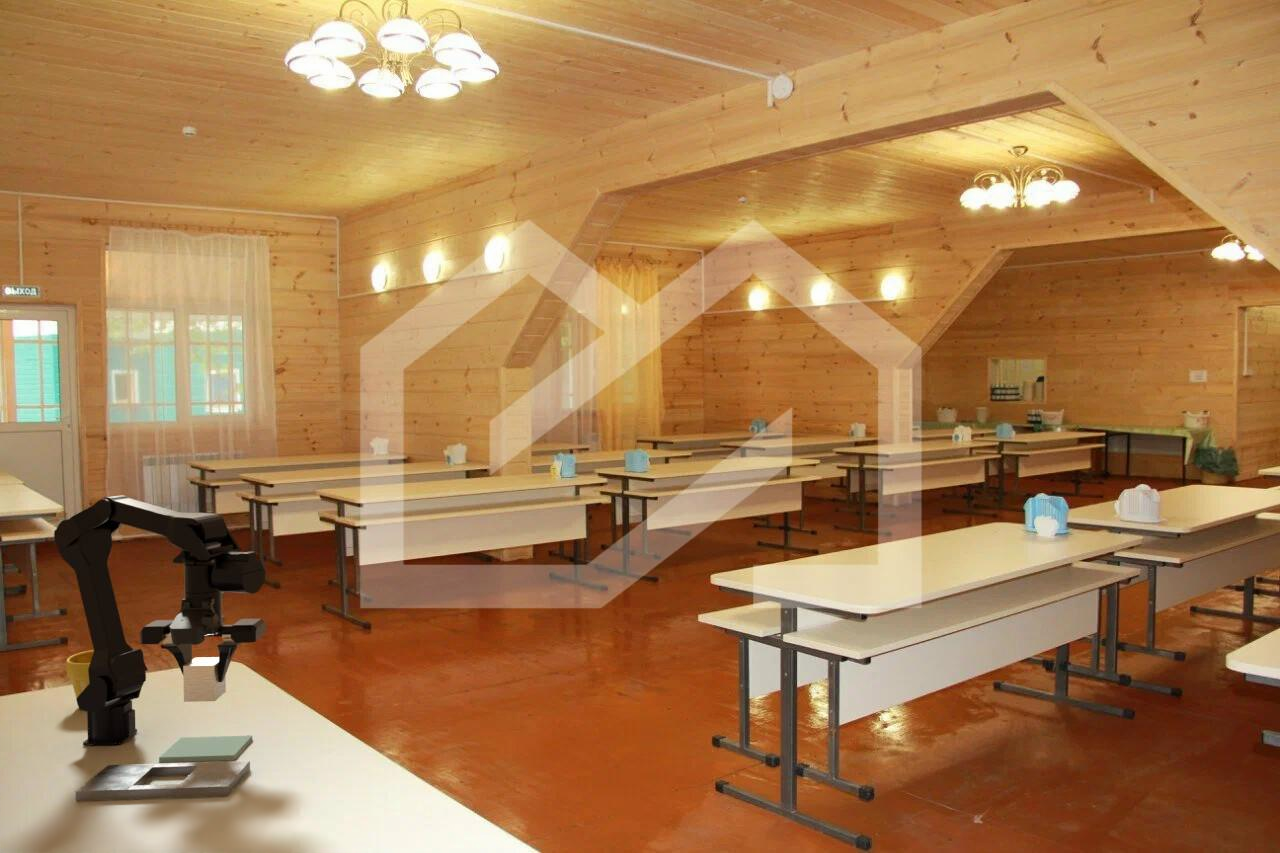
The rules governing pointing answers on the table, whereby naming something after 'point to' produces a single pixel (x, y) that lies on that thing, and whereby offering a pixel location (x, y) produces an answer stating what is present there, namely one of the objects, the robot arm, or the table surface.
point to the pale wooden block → (202, 680)
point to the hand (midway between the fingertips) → (204, 681)
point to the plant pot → (79, 670)
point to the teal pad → (206, 748)
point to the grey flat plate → (132, 777)
